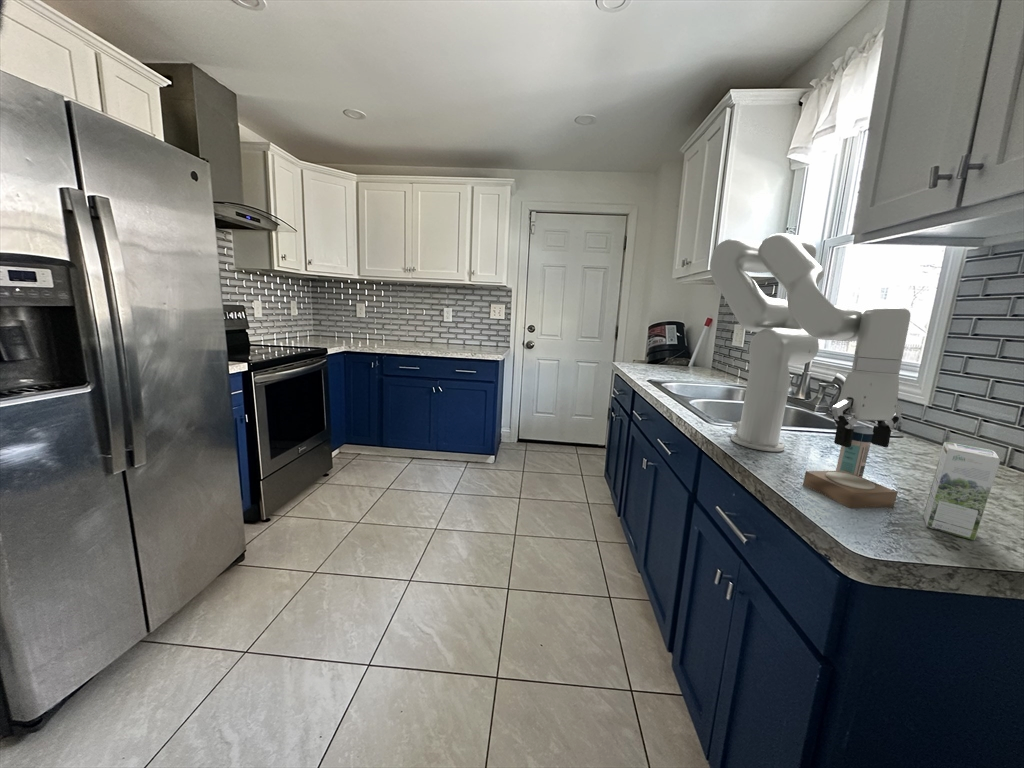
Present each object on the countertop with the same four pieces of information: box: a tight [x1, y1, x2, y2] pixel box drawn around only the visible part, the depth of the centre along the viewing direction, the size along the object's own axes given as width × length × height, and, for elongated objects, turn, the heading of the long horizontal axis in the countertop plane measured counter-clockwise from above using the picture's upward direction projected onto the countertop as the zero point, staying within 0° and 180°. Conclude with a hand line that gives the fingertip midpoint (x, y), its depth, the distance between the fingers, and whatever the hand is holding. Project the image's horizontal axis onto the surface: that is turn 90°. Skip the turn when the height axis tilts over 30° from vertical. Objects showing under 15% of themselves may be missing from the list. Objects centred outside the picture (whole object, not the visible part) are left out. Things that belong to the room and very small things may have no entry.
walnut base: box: [802, 470, 898, 509], centre depth 80 cm, size 10×10×3 cm
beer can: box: [835, 423, 874, 478], centre depth 88 cm, size 5×5×12 cm
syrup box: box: [923, 441, 1001, 541], centre depth 68 cm, size 6×6×14 cm
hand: (860, 445), depth 87 cm, fingers open, 9 cm apart
